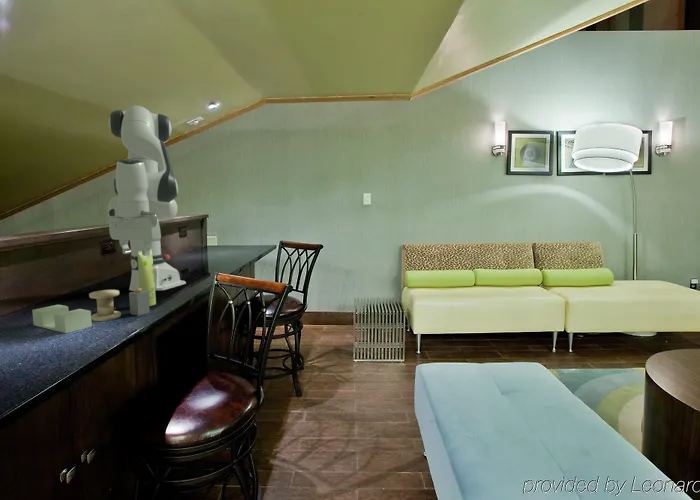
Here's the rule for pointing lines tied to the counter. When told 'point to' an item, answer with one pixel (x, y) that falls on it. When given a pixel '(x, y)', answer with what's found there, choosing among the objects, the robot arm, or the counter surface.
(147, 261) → the tube
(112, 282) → the counter surface
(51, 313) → the notch board
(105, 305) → the bobbin
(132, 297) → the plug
